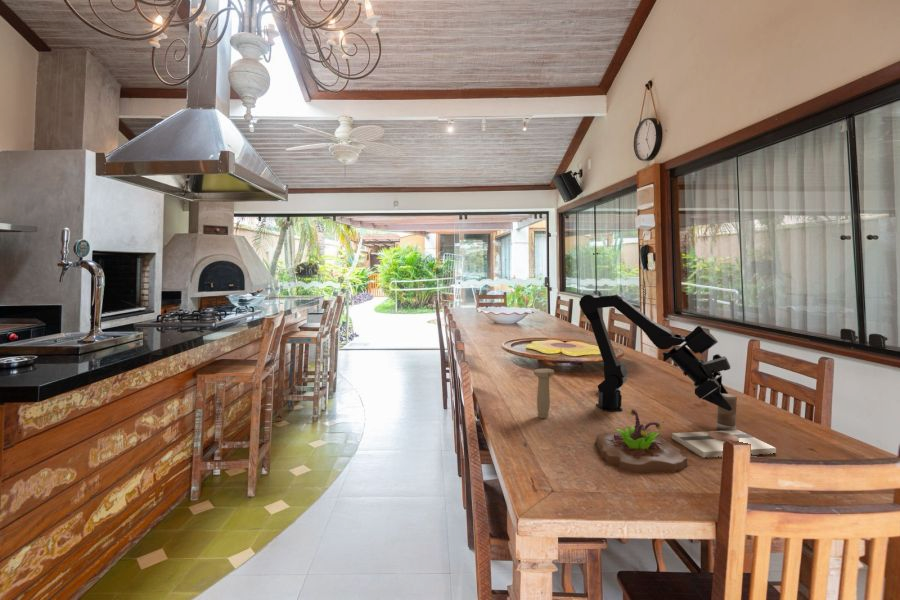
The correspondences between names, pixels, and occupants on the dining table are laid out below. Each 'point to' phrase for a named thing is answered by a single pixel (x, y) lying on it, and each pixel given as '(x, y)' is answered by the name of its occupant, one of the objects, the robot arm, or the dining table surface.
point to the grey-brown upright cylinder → (727, 414)
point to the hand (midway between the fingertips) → (731, 405)
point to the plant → (640, 449)
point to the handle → (543, 391)
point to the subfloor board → (719, 442)
